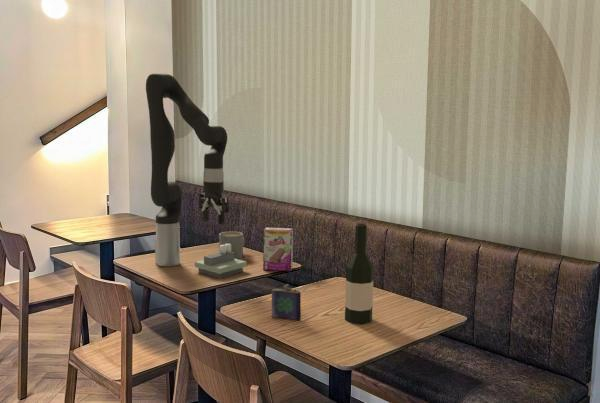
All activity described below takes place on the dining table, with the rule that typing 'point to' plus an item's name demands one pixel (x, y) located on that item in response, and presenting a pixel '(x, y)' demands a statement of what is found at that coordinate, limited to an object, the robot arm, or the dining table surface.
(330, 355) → the dining table surface
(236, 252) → the coffee mug
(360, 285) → the wine bottle
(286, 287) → the flask
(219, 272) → the green lidded box
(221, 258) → the grey white knobbed block
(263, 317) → the dining table surface
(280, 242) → the candy bar box
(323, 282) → the dining table surface
